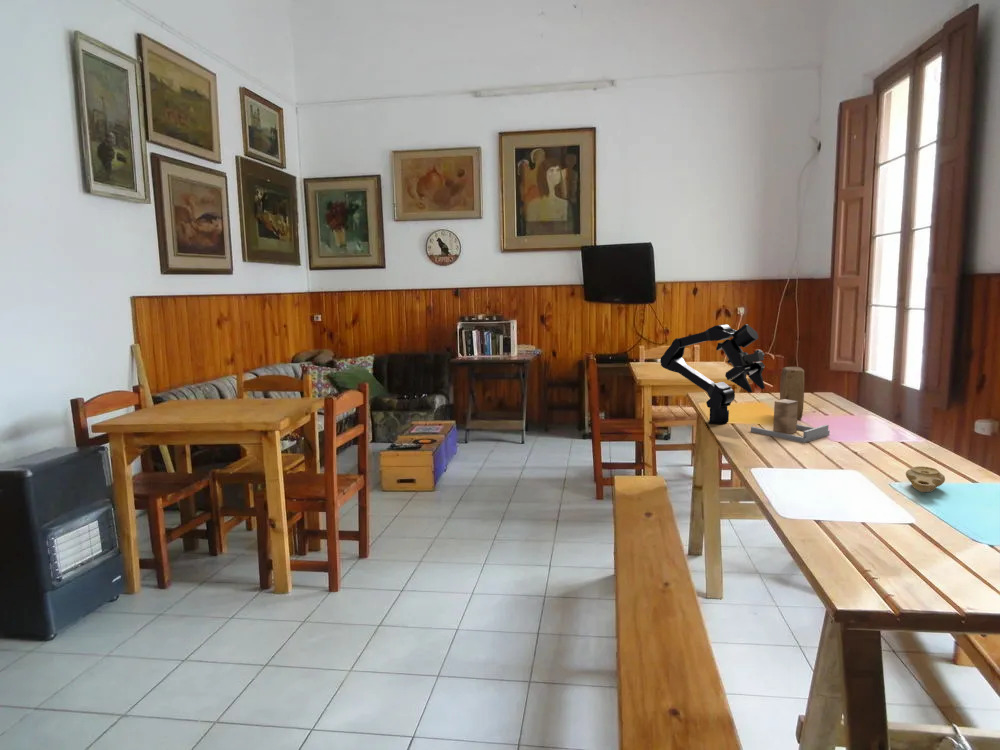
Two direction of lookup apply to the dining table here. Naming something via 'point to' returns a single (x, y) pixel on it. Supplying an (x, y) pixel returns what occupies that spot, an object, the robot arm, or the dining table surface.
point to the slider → (785, 416)
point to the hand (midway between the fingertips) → (757, 390)
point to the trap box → (808, 435)
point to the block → (793, 387)
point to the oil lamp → (925, 478)
